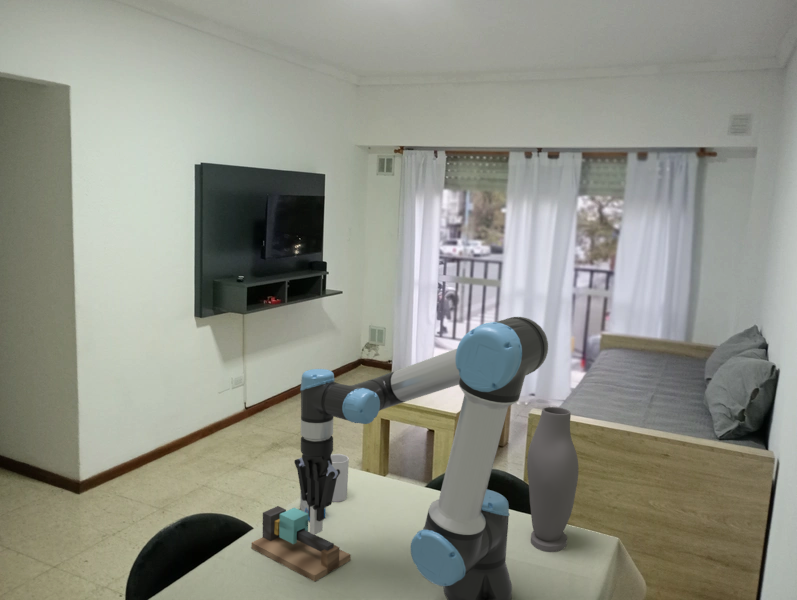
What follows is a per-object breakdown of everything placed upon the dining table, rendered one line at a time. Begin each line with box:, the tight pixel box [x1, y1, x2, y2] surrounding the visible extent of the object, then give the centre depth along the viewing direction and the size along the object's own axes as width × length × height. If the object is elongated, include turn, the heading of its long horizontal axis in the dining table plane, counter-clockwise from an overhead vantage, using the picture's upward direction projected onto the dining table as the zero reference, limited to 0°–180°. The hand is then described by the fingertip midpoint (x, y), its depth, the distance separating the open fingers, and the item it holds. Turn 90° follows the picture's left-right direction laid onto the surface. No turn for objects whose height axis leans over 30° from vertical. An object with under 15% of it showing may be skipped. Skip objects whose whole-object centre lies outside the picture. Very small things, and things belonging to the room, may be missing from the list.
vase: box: [526, 406, 579, 553], centre depth 165 cm, size 13×13×35 cm
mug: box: [331, 453, 350, 503], centre depth 189 cm, size 10×7×12 cm, turn 177°
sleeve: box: [279, 507, 309, 544], centre depth 157 cm, size 5×5×6 cm
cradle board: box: [251, 505, 352, 582], centre depth 156 cm, size 22×12×8 cm, turn 52°
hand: (316, 531), depth 152 cm, fingers closed
